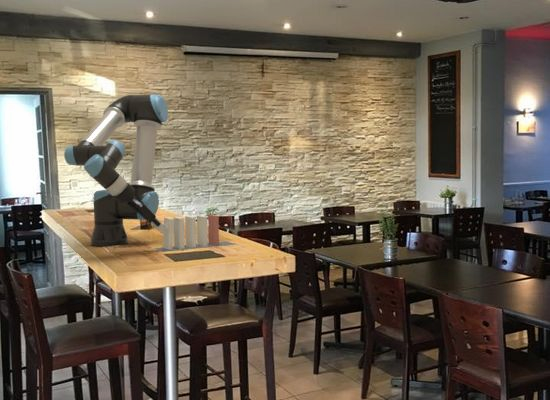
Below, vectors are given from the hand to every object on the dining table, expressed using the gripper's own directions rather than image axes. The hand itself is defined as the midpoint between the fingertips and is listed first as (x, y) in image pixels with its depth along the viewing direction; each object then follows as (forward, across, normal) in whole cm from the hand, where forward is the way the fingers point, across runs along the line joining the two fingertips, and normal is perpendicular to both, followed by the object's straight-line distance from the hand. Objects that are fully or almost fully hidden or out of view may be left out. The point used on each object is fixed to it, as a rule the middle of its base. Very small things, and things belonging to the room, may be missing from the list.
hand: (163, 230), depth 238 cm
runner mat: (+15, -1, +4) cm, 16 cm away
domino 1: (+6, 0, -4) cm, 8 cm away
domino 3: (+13, 0, +3) cm, 14 cm away
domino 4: (+17, -1, +6) cm, 18 cm away
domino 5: (+20, -1, +10) cm, 23 cm away
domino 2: (+10, 0, -1) cm, 10 cm away
